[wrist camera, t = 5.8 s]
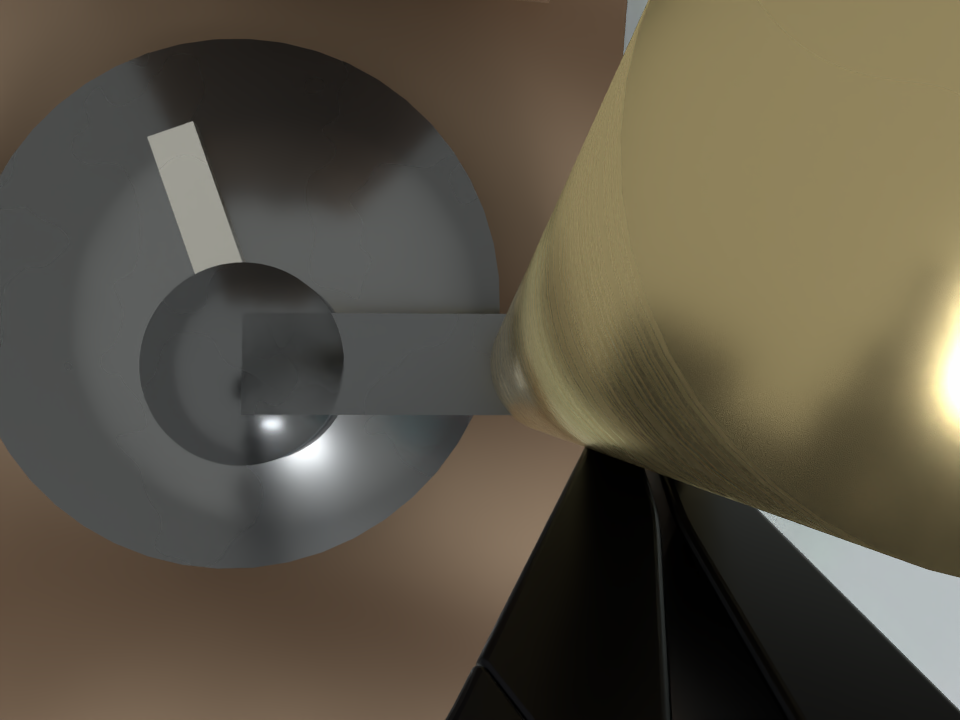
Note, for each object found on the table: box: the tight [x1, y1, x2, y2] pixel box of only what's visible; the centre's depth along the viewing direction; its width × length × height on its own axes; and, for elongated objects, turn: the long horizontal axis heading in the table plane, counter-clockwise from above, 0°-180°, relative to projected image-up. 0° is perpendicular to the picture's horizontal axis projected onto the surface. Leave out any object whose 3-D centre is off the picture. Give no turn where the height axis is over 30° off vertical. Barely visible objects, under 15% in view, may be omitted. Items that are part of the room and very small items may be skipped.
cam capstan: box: [0, 0, 960, 577], centre depth 9 cm, size 9×10×14 cm
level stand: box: [0, 0, 627, 720], centre depth 14 cm, size 17×12×8 cm
